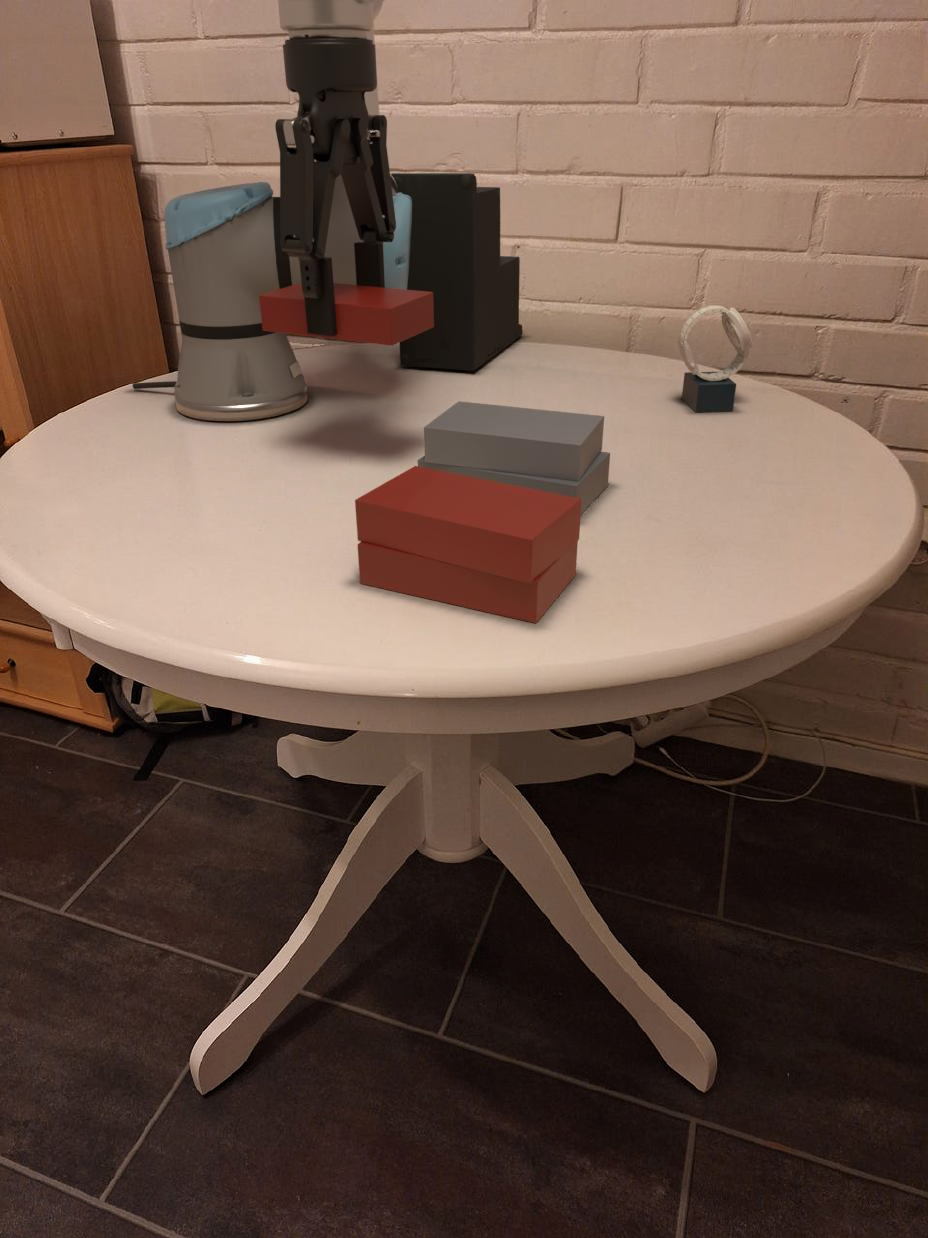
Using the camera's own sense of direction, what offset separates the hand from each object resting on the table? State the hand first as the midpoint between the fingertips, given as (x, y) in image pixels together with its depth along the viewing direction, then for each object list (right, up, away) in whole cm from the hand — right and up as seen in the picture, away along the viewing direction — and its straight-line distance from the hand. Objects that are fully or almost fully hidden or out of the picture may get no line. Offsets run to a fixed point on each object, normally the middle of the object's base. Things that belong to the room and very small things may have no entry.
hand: (348, 323), depth 85 cm
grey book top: (+15, -13, -4) cm, 21 cm away
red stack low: (+11, -25, -18) cm, 32 cm away
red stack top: (+11, -22, -19) cm, 31 cm away
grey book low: (+15, -16, -2) cm, 22 cm away
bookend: (+11, +10, +44) cm, 47 cm away
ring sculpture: (+39, -3, +21) cm, 44 cm away
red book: (0, 0, 0) cm, 0 cm away
